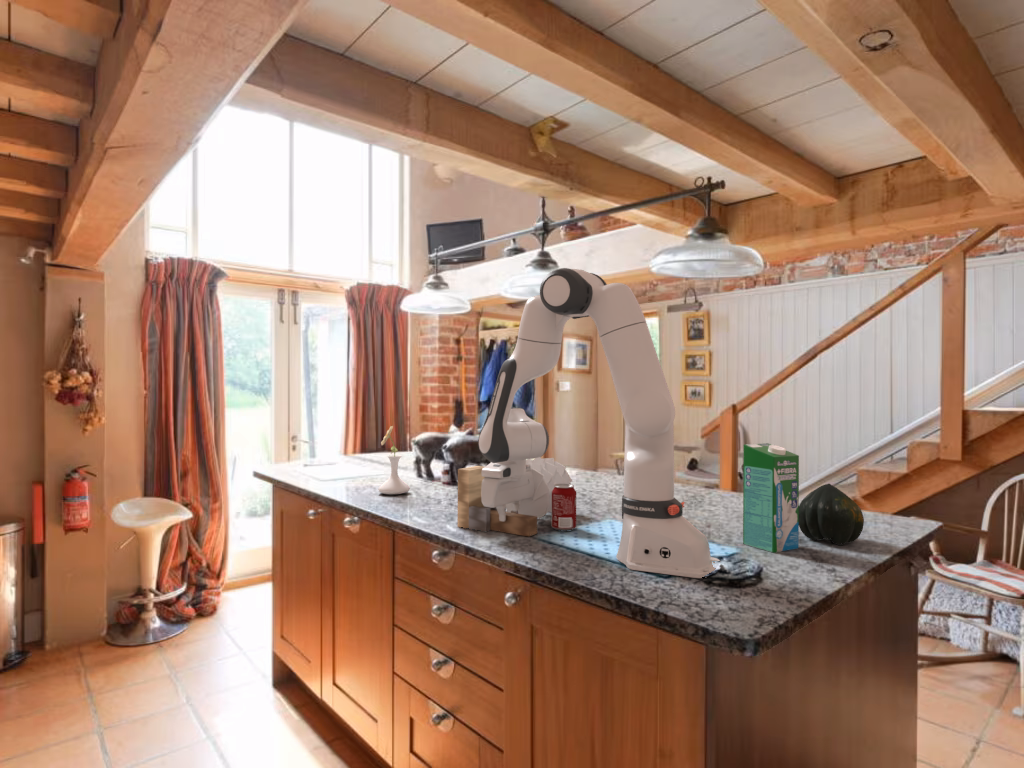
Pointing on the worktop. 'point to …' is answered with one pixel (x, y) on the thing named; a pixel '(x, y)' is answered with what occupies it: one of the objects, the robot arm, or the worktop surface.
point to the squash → (830, 516)
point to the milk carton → (770, 498)
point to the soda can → (563, 507)
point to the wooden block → (514, 523)
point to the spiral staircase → (542, 486)
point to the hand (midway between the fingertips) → (509, 519)
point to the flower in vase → (393, 473)
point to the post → (472, 500)
